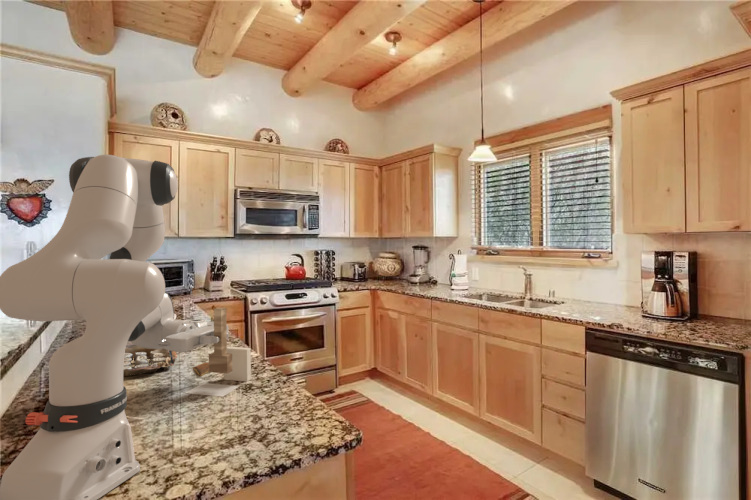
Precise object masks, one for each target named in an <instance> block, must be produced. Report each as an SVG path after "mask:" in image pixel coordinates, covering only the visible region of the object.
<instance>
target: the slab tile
mask: <svg viewBox="0 0 751 500" xmlns="http://www.w3.org/2000/svg"><path fill="white" fill-rule="evenodd" d="M251 350H252V349H251V347H239V346H227V353H232V369H233V371H231V372H230V373H228V374H226V373H223V380H226V381H236V382H246V383H247V382H249V381H251V380H252V363H251V362H252V361H251V360H252V358H251V357H252V355H251V354H252V353H251Z"/></svg>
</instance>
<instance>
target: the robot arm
mask: <svg viewBox="0 0 751 500" xmlns="http://www.w3.org/2000/svg"><path fill="white" fill-rule="evenodd" d="M68 182H69V186H70V189H71V191H72V192H73V193H72V197H71V201H70V204H69V206H68V210H67V213H66V215H65V218H64V221H63V223H62V225H61V227H60V229H59V230H58V231H57V233H56V234H55V235H54V236H53V238H51V240H49V242H47V243H46V244H45V245H44V246H43V247H41V249H39V250H38V251H36V252H35V253H34V254H33V255H30V256H29V257H28V258H26V259H24V260H22V261H19V262H17V263H15V264H13V265H10V266H9V267H8V268H6V269H5V270H4V271H3V272H2V273H1V274H0V311H1V312H2V313H3V314H4V315H5V316H6V317H8V318H10V319H17V320H25V321H33V322H59V321H60V322H61V321H62V322H63V321H64V322H65V321H85V322H86V323H85V331H84V333H83V335H81V336H79V337H77V338H75V339H73V340H71V341H69V342H67V343H66V344H64V345H61V346H60V347H59V348H57V350H56V351H54V353H53V354H52V356H51V357H50V359H49V362H48V396H49V397H48V398H49V399H48V400H47V402H46V404H45V407H44V409H43V411H42V412H41V411H40V412H35V411H32V412H29V413H28V414H27V415H26V417H25V421H24V422H25V424H26V425H27V426H34V425H35V426H39V429H38V431H37V432H36V433H35V435H34V436H33V437H32V438H31V440H30V441H29V442H28V443H27V444H26V445H25V447H24V448H23V449H22V450H21V452H20V453H18V455H17V456H16V457H15V459H14V460H13V461H12V462H11V464H10V465H9V466H8V467H7V468H6V469H5V470H4V472H3V474H2V475H1V476H2V477H1V480H0V500H99V499H100V498H101V497H103V496H105V495H106V494H108V493H109V492H111V491H112V490H113V489H115V488H117V487H118V486H120V485H121V484H122V483H124V482H126V481H127V480H129V479H130V478H131V477H133V476H135V475H136V474H137V473H139V472H140V470H141V465H140V463H139V461H137V460H136V456H135V448H134V441H133V433H132V427H131V423H130V422H129V420H128V417H127V415H126V408H127V406H128V404H127V400H128V394H127V388H126V386H124V375H123V374H124V356H125V349H126V345H127V342H128V341H130V342H131V343H133V344H135V345H137V346H139V347H143V348H149V349H162V348H164V349H166V350H169V351H176V353H185V352H188V351H191V350H194V349H197V348H198V347H199V348H200V347H201V346H204V345H207V344H214V343H218V342H220V336H214V321H206V320H205V319H204V318H203V319H201V318H200V319H199V318H198V319H192V320H191V319H175V320H174V314H175V310H174V303H173V299H172V297H171V296H170V294H169V293H168V292H166V282H165V277H164V275H163V273H162V271H161V270H160V268H159V267H157V265H155V264H154V263H152V262H148V261H147V260H149V259H150V258H151V257H152V256H153V255H154V254H155V253H157V252H158V250H159V249H160V248H161V247H162V245H163V244H164V242H165V237H166V236H165V235H166V225H165V215H164V210H163V206H164V205H167V204H170V203H171V202H172V201H173V200H174V199H175V198H176V194H177V192H178V189H179V188H178V187H179V182H178V177H177V175H176V173H175V169H174V168H173V166H171V165H170V164H169V163H168V162H163V161H159V160H153V161H151V160H145V159H139V158H138V159H137V158H127V157H124V156H123V157H121V156H118V155H113V154H99V155H97V156H86V157H81V158H78V159H77V160H75V161H73V163H72V164H71V166H70V168H69V172H68ZM108 255H109V258H106V259H105V258H104V257H106V256H108ZM103 258H104V259H103ZM229 335H230V334H229V325H228V324H227V340H228V339H229V337H230V336H229Z"/></svg>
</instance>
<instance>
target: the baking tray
mask: <svg viewBox="0 0 751 500" xmlns="http://www.w3.org/2000/svg"><path fill="white" fill-rule="evenodd" d="M177 357H178V354H177V352H176V351H169V350H166V349H164V348H162V349H149V348H143V347H139V346H137V345H135V344H133V343H132V344H128V345H126V349H125V356H124V374H123V377H128V376H129V375H130V376H134V374H136V375H141V374H140V373H142V374H147V373H152V372H153V373H154V372H155V373H156V372H157V370H159V369H160V368H163V369H162V370H163V371H166V370H167V369H168V368H170V367H171V366H174V365H175V363H176V358H177ZM133 358H134V367H132V364H131V361H132V360H133ZM147 359H150V360H149V365H148V360H147ZM135 360H136V361H135ZM150 364H151V365H150Z"/></svg>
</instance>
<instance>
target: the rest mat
mask: <svg viewBox="0 0 751 500" xmlns="http://www.w3.org/2000/svg"><path fill="white" fill-rule="evenodd" d="M239 387H240V385H230V384H219V383H211V382H210V383H209V382H203V383H201V384H199V385H197V386H195V387H193V388H192V389H189V390H187V391H186V392H184V393H185V394H190V395H191V394H192V395H199V396H200V395H201V396H210V397H211V396H212V397H225V396H226V395H228V394H229V393H231V392H233V391H235V390H237V389H238V388H239Z"/></svg>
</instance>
